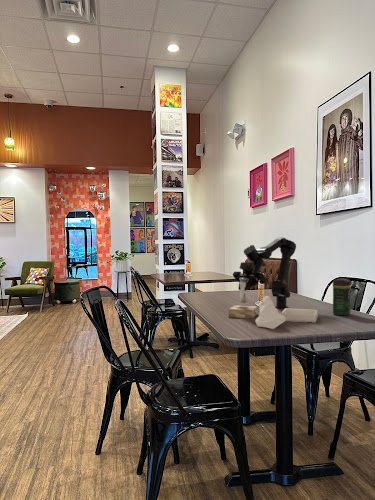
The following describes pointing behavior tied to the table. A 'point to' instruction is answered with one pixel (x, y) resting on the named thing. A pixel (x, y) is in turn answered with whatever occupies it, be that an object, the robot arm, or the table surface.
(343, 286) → the coffee jar
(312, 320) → the tray
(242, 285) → the steel pin
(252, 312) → the block
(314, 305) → the table surface
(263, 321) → the white tetrapod block
